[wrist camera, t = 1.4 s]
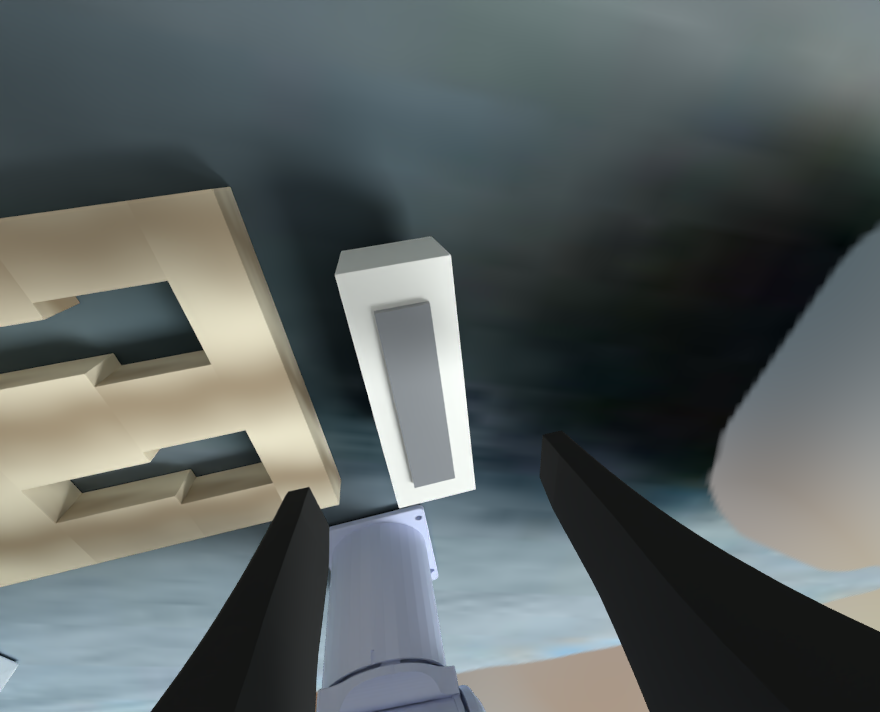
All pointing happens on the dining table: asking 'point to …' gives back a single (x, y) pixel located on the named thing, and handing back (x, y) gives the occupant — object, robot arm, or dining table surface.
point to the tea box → (6, 670)
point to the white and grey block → (411, 363)
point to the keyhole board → (146, 388)
